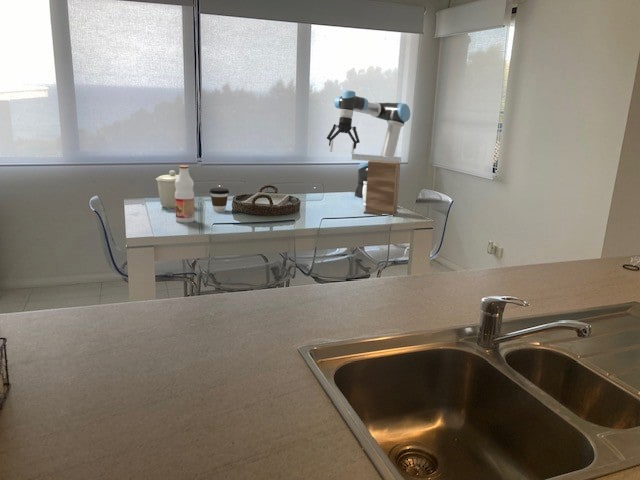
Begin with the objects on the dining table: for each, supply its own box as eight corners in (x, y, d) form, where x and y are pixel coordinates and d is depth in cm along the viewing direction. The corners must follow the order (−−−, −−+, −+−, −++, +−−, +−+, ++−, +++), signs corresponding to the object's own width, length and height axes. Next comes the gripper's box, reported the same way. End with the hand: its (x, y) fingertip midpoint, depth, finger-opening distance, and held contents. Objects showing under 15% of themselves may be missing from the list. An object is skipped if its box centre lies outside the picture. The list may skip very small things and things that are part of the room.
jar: (376, 207, 326) (377, 183, 323) (359, 206, 330) (361, 182, 326) (379, 205, 336) (381, 181, 332) (364, 203, 339) (365, 180, 336)
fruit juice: (193, 223, 266) (192, 167, 259) (174, 222, 265) (172, 166, 258) (195, 219, 275) (194, 165, 268) (177, 218, 274) (175, 164, 268)
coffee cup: (205, 210, 297) (205, 189, 294) (217, 208, 306) (217, 187, 303) (221, 213, 292) (221, 191, 289) (233, 210, 302) (233, 189, 299)
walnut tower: (369, 209, 319) (373, 159, 312) (397, 212, 314) (401, 161, 307) (364, 213, 308) (367, 161, 300) (392, 216, 302) (396, 163, 295)
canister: (194, 205, 311) (193, 169, 306) (183, 211, 294) (182, 173, 289) (164, 203, 313) (162, 167, 308) (151, 209, 296) (150, 171, 290)
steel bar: (353, 158, 311) (353, 153, 311) (400, 162, 302) (401, 157, 302) (351, 159, 308) (351, 154, 307) (399, 163, 299) (399, 157, 298)
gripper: (324, 114, 318) (320, 150, 322) (364, 118, 311) (359, 155, 315) (328, 115, 326) (323, 150, 329) (367, 120, 318) (362, 155, 322)
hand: (341, 153), depth 322 cm, fingers open, 13 cm apart
